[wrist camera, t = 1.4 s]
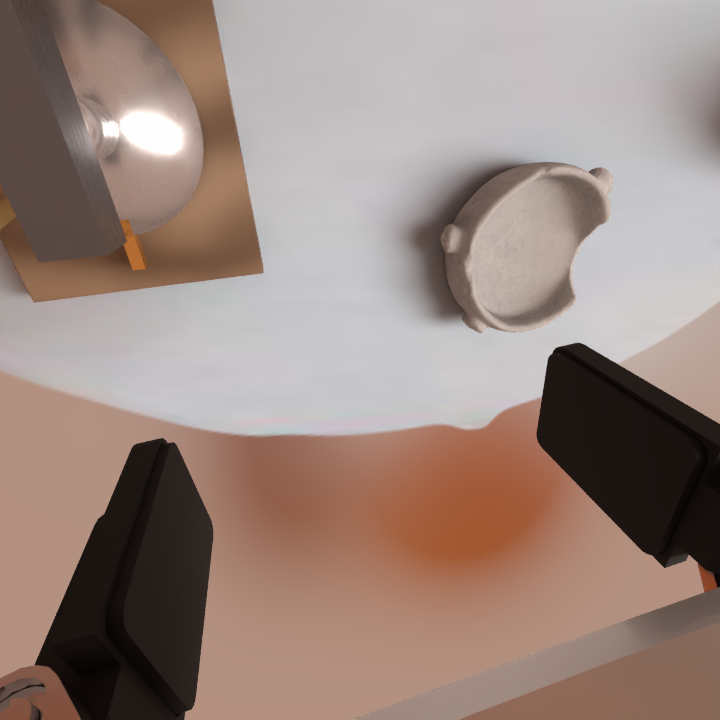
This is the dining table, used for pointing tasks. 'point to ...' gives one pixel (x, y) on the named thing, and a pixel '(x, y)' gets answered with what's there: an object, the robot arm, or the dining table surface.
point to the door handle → (91, 130)
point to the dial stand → (208, 204)
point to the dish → (523, 244)
